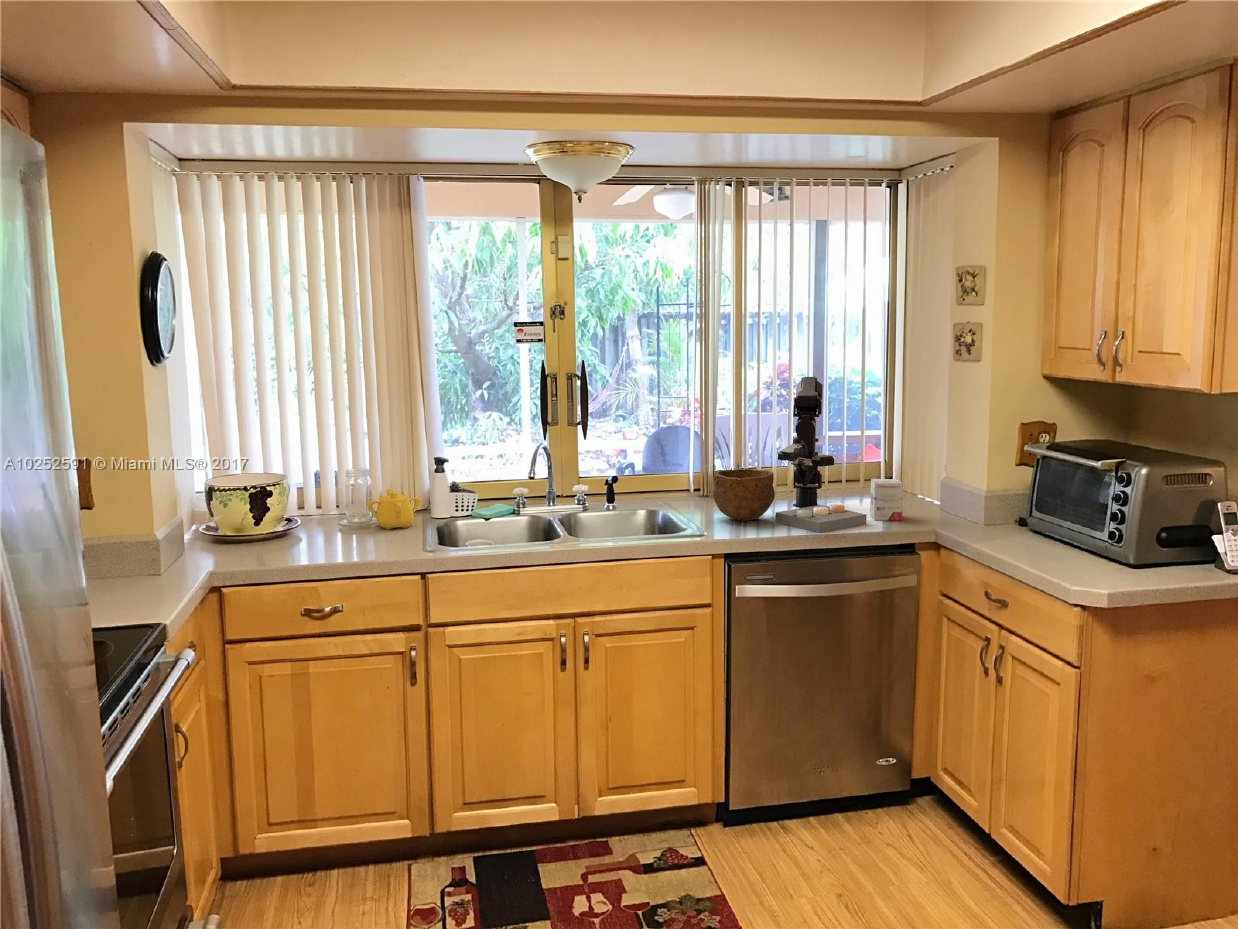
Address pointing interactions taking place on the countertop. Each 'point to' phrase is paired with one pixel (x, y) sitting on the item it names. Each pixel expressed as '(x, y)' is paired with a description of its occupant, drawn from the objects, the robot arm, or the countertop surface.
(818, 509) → the cream button
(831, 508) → the orange button
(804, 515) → the sage button
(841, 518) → the panel
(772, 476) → the bowl
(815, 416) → the robot arm
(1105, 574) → the countertop surface
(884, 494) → the ink box
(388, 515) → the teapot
